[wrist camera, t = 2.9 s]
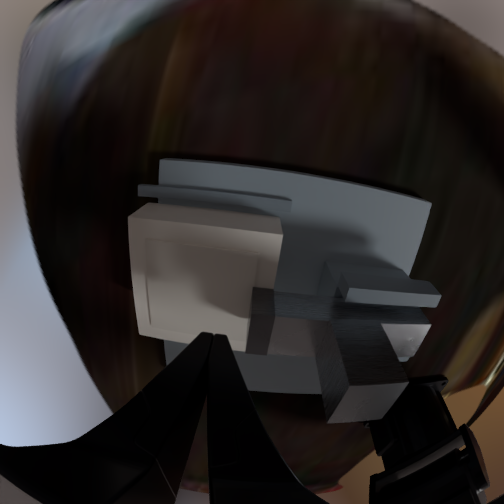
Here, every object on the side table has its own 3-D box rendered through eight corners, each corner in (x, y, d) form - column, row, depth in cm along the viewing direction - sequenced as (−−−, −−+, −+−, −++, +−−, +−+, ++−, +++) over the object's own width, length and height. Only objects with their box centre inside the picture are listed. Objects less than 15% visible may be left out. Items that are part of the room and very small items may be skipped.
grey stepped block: (416, 300, 11) (465, 373, 6) (399, 335, 12) (437, 409, 7) (252, 285, 11) (247, 382, 6) (247, 325, 11) (240, 420, 7)
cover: (279, 216, 12) (283, 236, 10) (260, 324, 15) (260, 355, 12) (148, 202, 12) (126, 218, 10) (152, 308, 15) (138, 336, 12)
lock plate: (423, 199, 12) (474, 228, 8) (349, 385, 18) (361, 433, 14) (147, 157, 12) (99, 172, 8) (159, 367, 18) (141, 416, 14)
